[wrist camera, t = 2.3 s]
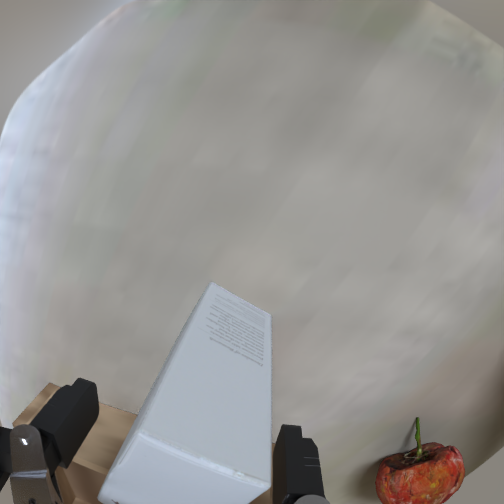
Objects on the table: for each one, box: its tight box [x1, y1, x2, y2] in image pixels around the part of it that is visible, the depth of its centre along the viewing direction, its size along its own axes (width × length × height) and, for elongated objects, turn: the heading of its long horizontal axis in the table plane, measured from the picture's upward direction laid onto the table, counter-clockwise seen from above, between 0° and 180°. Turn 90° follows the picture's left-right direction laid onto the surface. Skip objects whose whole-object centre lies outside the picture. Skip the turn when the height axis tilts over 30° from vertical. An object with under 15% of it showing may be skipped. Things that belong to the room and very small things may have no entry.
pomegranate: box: [375, 417, 465, 504], centre depth 18 cm, size 7×7×10 cm
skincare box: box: [97, 282, 272, 504], centre depth 13 cm, size 6×4×12 cm
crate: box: [12, 383, 275, 504], centre depth 21 cm, size 20×16×6 cm
